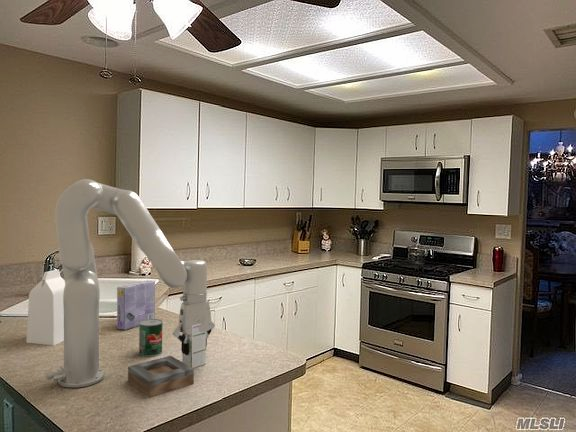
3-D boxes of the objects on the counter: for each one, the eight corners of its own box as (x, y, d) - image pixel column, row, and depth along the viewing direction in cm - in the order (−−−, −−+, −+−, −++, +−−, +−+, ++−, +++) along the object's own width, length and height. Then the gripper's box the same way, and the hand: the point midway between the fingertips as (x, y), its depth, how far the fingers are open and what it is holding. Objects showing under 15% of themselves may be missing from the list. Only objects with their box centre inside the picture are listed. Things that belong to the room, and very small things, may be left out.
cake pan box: (148, 318, 199) (149, 279, 198) (157, 319, 197) (157, 280, 196) (115, 329, 182) (115, 286, 181) (124, 331, 180) (125, 288, 179)
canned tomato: (155, 357, 152) (156, 326, 151) (134, 355, 153) (134, 324, 153) (166, 349, 160) (166, 319, 159) (145, 347, 161) (146, 318, 160)
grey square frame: (149, 397, 122) (149, 381, 122) (127, 381, 132) (128, 366, 132) (193, 383, 132) (193, 368, 131) (170, 369, 142) (170, 355, 142)
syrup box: (206, 364, 147) (207, 321, 146) (191, 369, 142) (192, 324, 142) (196, 359, 151) (196, 317, 150) (181, 364, 146) (182, 320, 146)
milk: (53, 345, 161) (53, 274, 160) (26, 342, 163) (26, 272, 162) (75, 335, 173) (75, 269, 172) (50, 332, 175) (50, 267, 174)
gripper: (177, 304, 137) (176, 361, 138) (223, 296, 149) (222, 349, 150) (165, 299, 142) (164, 354, 143) (210, 292, 154) (209, 343, 155)
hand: (194, 351), depth 146 cm, fingers closed on syrup box, 5 cm apart
